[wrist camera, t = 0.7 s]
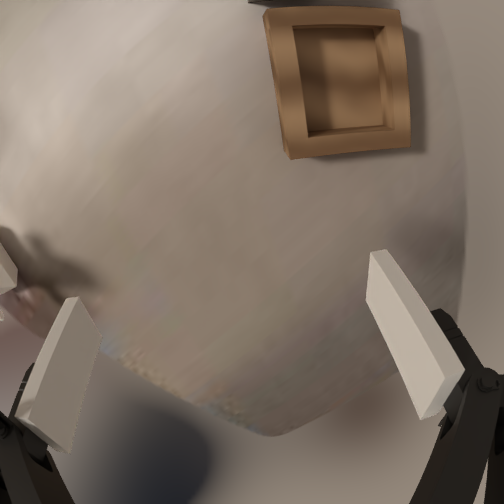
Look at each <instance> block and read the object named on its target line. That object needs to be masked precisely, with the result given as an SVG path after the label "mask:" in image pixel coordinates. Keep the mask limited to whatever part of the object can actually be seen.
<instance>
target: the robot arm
mask: <svg viewBox="0 0 504 504" xmlns="http://www.w3.org/2000/svg"><path fill="white" fill-rule="evenodd" d="M366 302H367V304H368V306H369V308H370V310H371V312H372V314H373V316H374V318H375V320H376V322H377V324H378V326H379V328H380V330H381V333H382V335H383V337H384V339H385V341H386V343H387V345H388V347H389V349H390V352H391V354H392V356H393V358H394V360H395V363H396V365H397V367H398V369H399V371H400V374H401V376H402V378H403V380H404V383H405V385H406V387H407V390H408V392H409V394H410V397H411V399H412V401H413V404H414V406H415V409H416V411H417V413H418V416H419V418H420V420H422V419H425V418H428V417H430V416H433V415H435V414H438V413H439V411H440V410H441V408H442V406H444V408H445V410H446V412H447V413H446V414H445V416H444V417H443V419H442V420H441V421H440V423H439V425H438V426H440V427H441V429H440V432H439V435H438V438H437V440H436V443H435V446H434V448H433V451H432V454H431V456H430V459H429V461H428V463H427V466H426V468H425V471H424V473H423V475H422V477H421V480H420V482H419V484H418V486H417V488H416V491H415V493H414V495H413V497H412V499H411V501H410V503H409V504H473V502H474V500H475V497H476V494H477V491H478V489H479V486H480V482H481V480H482V476H483V473H484V470H485V467H486V463H487V460H488V470H487V482H486V491H485V498H484V504H504V375H499V374H498V373H497V372H495V371H494V370H492V369H490V368H484V367H483V365H482V364H481V362H480V361H479V359H478V357H477V356H476V354H475V353H474V351H473V349H472V348H471V346H470V345H469V343H468V341H467V340H466V338H465V337H464V336H463V334H462V332H461V331H460V329H459V328H458V327H457V325H456V323H455V322H454V320H453V319H452V317H451V316H450V315H449V314H447V313H446V312H445V311H443V310H442V309H441V308H440V309H437V310H433V311H429V310H428V308H427V307H426V305H425V304H424V302H423V301H422V299H421V298H420V296H419V295H418V293H417V292H416V290H415V289H414V287H413V286H412V284H411V283H410V281H409V280H408V279H407V277H406V276H405V274H404V273H403V271H402V270H401V269H400V267H399V266H398V264H397V263H396V262H395V260H394V259H393V258H392V256H391V255H390V254H389V252H388V251H387V249H385V250H379V251H373V252H370V263H369V274H368V284H367V294H366ZM102 338H103V337H102V336H101V334H100V332H99V331H98V329H97V327H96V326H95V324H94V322H93V321H92V319H91V317H90V316H89V314H88V312H87V310H86V309H85V307H84V305H83V303H82V301H81V300H80V298H79V297H72V298H66V300H65V302H64V304H63V306H62V308H61V310H60V312H59V314H58V316H57V318H56V320H55V322H54V324H53V326H52V328H51V330H50V332H49V334H48V336H47V338H46V340H45V342H44V345H43V347H42V349H41V351H40V353H39V356H38V358H37V360H36V363H33V364H32V365H31V366H30V367H29V369H28V370H27V371H26V373H25V376H24V378H23V380H22V382H23V383H21V385H20V388H19V391H18V393H17V396H16V398H15V401H14V403H13V406H12V409H11V412H10V414H9V417H8V418H7V417H6V416H5V415H4V414H3V413H2V412H1V411H0V504H75V503H74V501H73V499H72V497H71V495H70V494H69V492H68V490H67V488H66V486H65V484H64V482H63V480H62V478H61V476H60V474H59V471H58V469H57V467H56V465H55V463H54V460H53V458H52V456H51V454H50V453H49V451H47V447H48V445H49V446H51V447H52V448H53V449H54V450H56V451H59V452H65V453H70V452H71V447H72V443H73V438H74V434H75V430H76V426H77V422H78V418H79V414H80V410H81V407H82V403H83V399H84V396H85V392H86V388H87V385H88V382H89V379H90V375H91V372H92V368H93V365H94V362H95V359H96V356H97V353H98V350H99V347H100V344H101V341H102ZM441 425H442V426H441Z"/></svg>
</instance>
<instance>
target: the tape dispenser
mask: <svg viewBox="0 0 504 504" xmlns="http://www.w3.org/2000/svg"><path fill="white" fill-rule="evenodd" d="M17 273H18V269H17V267H16V266H15V264H14V263H13V261H12V260H11V258H10V257H9V255H8V254H7V252H6V250H5V249H4V247H3V246H2V244H1V242H0V295H1V294H3V293H5V292H7V291H9V290H11V289H13V288H15V287H17ZM0 320H1V321H3V320H4V313H3V311H2V310H1V309H0Z"/></svg>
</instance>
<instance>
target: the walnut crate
mask: <svg viewBox="0 0 504 504" xmlns="http://www.w3.org/2000/svg"><path fill="white" fill-rule="evenodd" d="M263 21H264V27H265V32H266V38H267V43H268V49H269V55H270V61H271V67H272V73H273V79H274V85H275V92H276V98H277V105H278V111H279V118H280V125H281V132H282V139H283V146H284V151H285V153H286V154H287V155H288V157H289V158H290V160H293V159H300V158H307V157H315V156H323V155H331V154H339V153H348V152H358V151H368V150H379V149H391V148H404V147H411V129H410V101H409V85H408V73H407V63H406V53H405V45H404V37H403V30H402V24H401V18H400V12H399V10H393V9H384V8H372V7H356V6H298V7H282V8H270V9H267V10H266V11H265V13H264V15H263Z"/></svg>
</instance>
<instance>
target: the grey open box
mask: <svg viewBox="0 0 504 504" xmlns="http://www.w3.org/2000/svg"><path fill="white" fill-rule="evenodd" d="M261 1H271V0H248V3H252V2H261Z"/></svg>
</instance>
